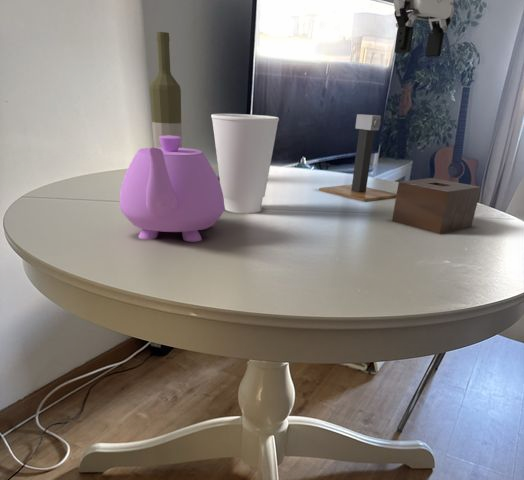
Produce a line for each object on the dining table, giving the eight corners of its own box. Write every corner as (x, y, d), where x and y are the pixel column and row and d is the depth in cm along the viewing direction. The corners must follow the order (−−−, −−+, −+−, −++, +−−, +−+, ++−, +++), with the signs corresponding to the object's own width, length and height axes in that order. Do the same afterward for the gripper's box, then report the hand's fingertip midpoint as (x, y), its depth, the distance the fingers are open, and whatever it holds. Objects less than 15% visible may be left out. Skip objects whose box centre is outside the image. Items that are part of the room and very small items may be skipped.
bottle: (167, 181, 113) (159, 30, 99) (148, 177, 117) (139, 31, 103) (189, 178, 118) (185, 33, 104) (171, 174, 122) (165, 34, 108)
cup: (252, 200, 98) (255, 114, 91) (286, 213, 90) (292, 118, 82) (200, 205, 92) (199, 113, 85) (231, 218, 84) (233, 117, 76)
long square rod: (355, 188, 113) (365, 114, 105) (371, 192, 109) (383, 116, 102) (347, 189, 111) (356, 114, 104) (363, 193, 108) (374, 115, 100)
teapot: (215, 258, 64) (215, 147, 58) (99, 252, 64) (86, 141, 57) (229, 219, 83) (230, 133, 77) (140, 214, 83) (133, 128, 77)
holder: (424, 215, 94) (431, 177, 90) (471, 227, 87) (481, 186, 83) (391, 221, 88) (398, 181, 85) (439, 234, 81) (449, 191, 78)
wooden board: (353, 186, 119) (353, 184, 119) (399, 197, 110) (399, 194, 109) (318, 190, 112) (319, 187, 112) (364, 201, 103) (364, 198, 102)
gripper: (423, -74, 78) (405, 50, 86) (480, -53, 87) (459, 57, 95) (387, -64, 83) (373, 52, 91) (444, -46, 92) (427, 58, 101)
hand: (417, 54), depth 93 cm, fingers open, 9 cm apart
